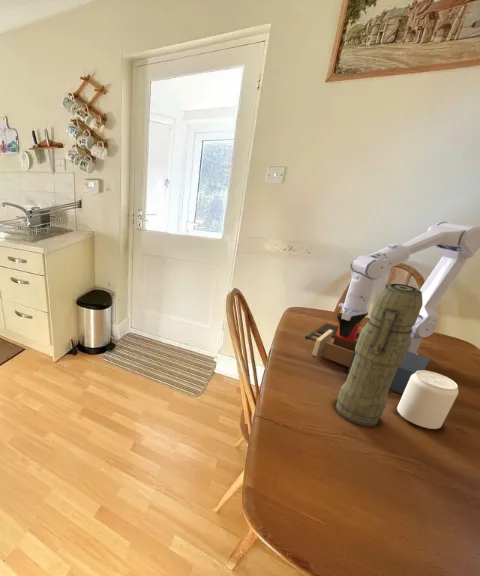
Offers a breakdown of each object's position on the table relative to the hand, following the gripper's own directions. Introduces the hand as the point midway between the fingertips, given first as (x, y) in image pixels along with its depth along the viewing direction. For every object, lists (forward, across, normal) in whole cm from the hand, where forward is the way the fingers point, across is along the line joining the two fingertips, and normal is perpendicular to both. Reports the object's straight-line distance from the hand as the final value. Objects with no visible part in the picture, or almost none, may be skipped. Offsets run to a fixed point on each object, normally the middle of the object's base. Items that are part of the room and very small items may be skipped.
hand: (346, 333), depth 100 cm
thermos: (+9, +26, +12) cm, 30 cm away
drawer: (+8, +1, -1) cm, 9 cm away
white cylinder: (+10, +16, +22) cm, 28 cm away
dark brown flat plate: (+9, -19, -6) cm, 22 cm away
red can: (+1, 0, 0) cm, 1 cm away
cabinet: (+9, +1, +12) cm, 15 cm away
